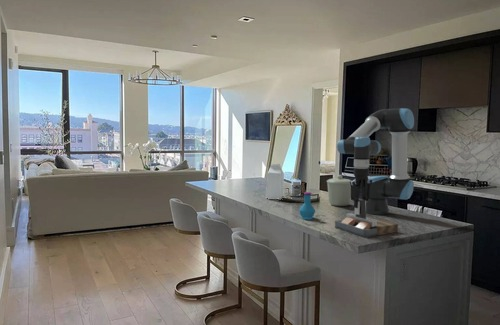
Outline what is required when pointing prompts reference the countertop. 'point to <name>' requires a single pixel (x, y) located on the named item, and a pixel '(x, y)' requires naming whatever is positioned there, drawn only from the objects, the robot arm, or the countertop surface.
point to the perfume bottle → (307, 207)
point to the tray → (356, 229)
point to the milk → (275, 182)
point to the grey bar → (362, 215)
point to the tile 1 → (348, 221)
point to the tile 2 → (363, 225)
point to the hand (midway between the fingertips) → (360, 213)
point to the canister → (339, 191)
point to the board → (383, 226)
